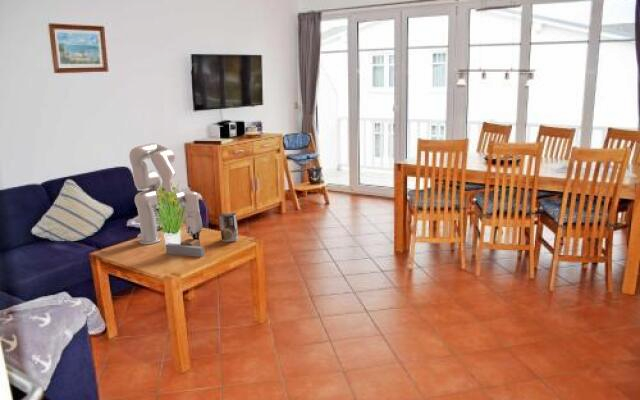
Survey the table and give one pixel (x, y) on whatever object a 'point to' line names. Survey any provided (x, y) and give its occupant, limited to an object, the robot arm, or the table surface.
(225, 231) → the coffee box
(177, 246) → the slate rail
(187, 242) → the walnut block
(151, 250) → the table surface
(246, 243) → the table surface
